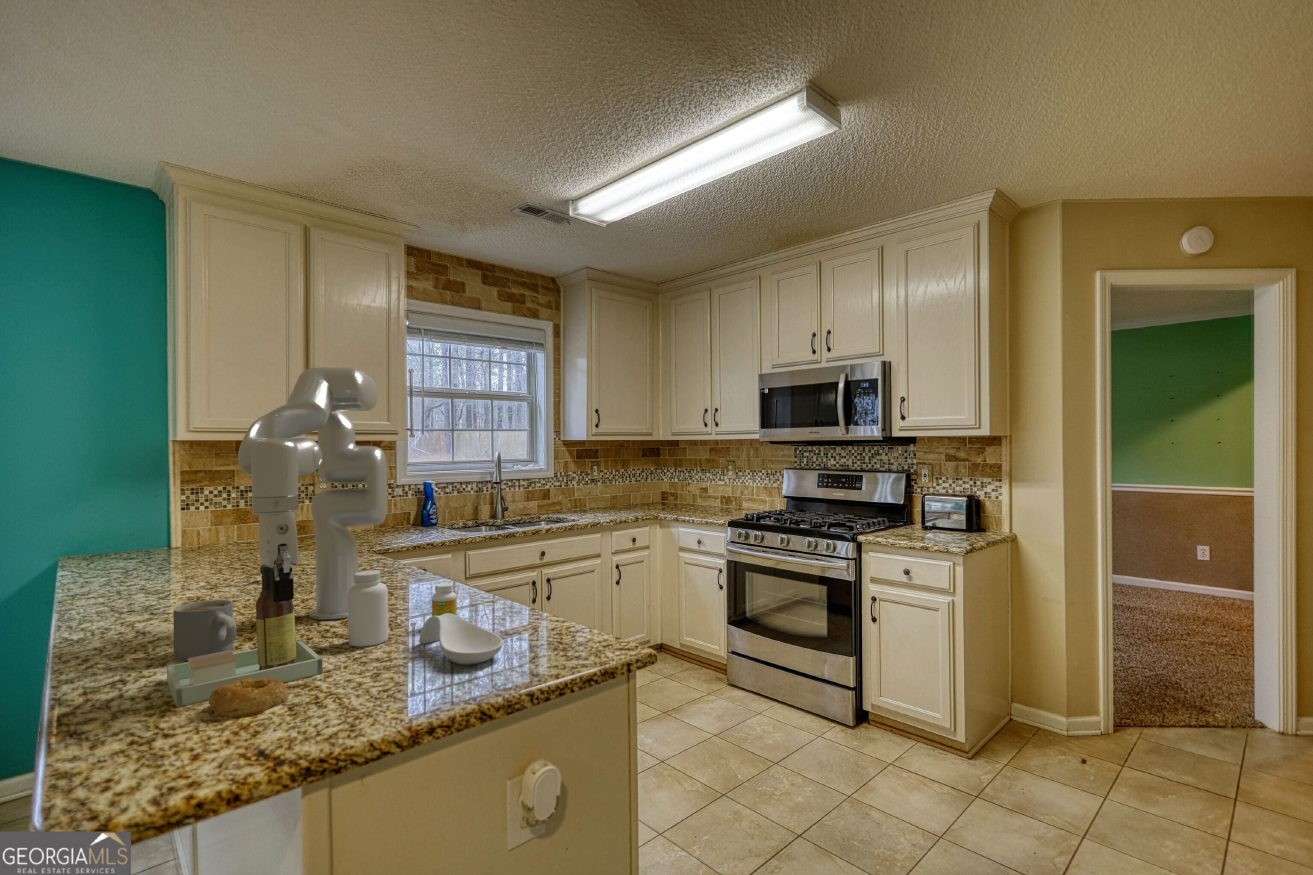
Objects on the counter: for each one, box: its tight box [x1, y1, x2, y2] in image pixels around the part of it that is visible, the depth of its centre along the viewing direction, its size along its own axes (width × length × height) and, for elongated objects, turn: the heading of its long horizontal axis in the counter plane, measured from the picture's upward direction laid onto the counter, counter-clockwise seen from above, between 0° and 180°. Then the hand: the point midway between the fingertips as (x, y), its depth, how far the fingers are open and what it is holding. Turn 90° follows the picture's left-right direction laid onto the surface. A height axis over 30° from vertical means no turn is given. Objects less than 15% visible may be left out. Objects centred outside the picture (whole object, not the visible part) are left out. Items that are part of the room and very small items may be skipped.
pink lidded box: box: [187, 650, 237, 686], centre depth 113 cm, size 6×6×5 cm
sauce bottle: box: [255, 564, 297, 671], centre depth 120 cm, size 6×6×20 cm
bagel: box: [208, 678, 289, 719], centre depth 104 cm, size 10×11×5 cm
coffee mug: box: [173, 599, 237, 662], centre depth 131 cm, size 13×10×10 cm
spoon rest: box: [418, 613, 504, 666], centre depth 130 cm, size 24×12×7 cm, turn 48°
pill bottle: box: [347, 569, 389, 648], centre depth 138 cm, size 8×8×15 cm
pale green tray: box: [166, 639, 323, 708], centre depth 116 cm, size 22×16×3 cm
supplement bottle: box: [431, 582, 457, 617], centre depth 150 cm, size 5×5×10 cm
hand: (277, 595), depth 120 cm, fingers open, 9 cm apart
